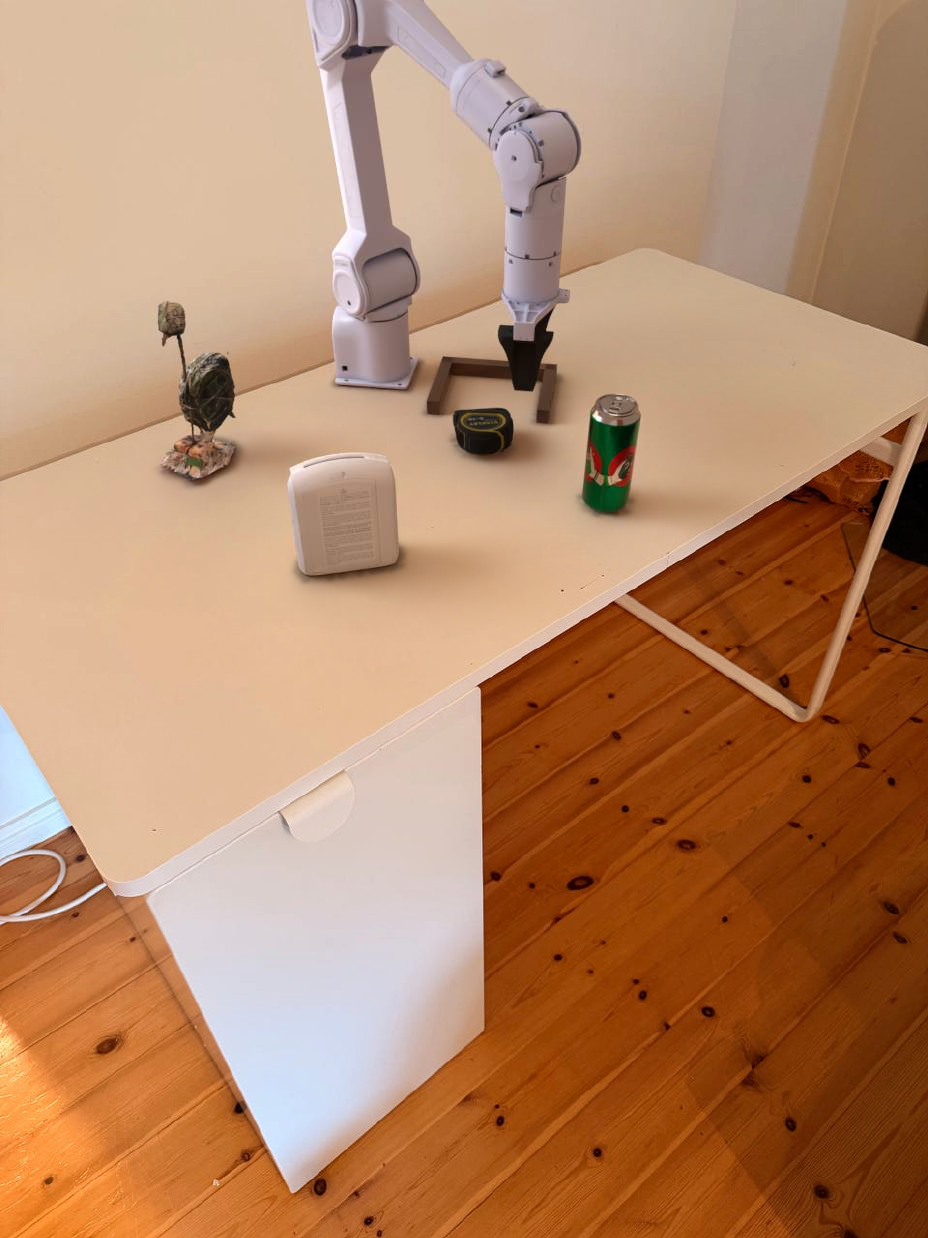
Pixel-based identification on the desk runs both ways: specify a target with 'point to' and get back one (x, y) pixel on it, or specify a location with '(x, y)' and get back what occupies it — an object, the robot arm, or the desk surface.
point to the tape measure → (483, 430)
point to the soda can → (610, 452)
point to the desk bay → (490, 370)
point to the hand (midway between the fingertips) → (527, 371)
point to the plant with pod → (199, 402)
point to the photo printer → (343, 513)
